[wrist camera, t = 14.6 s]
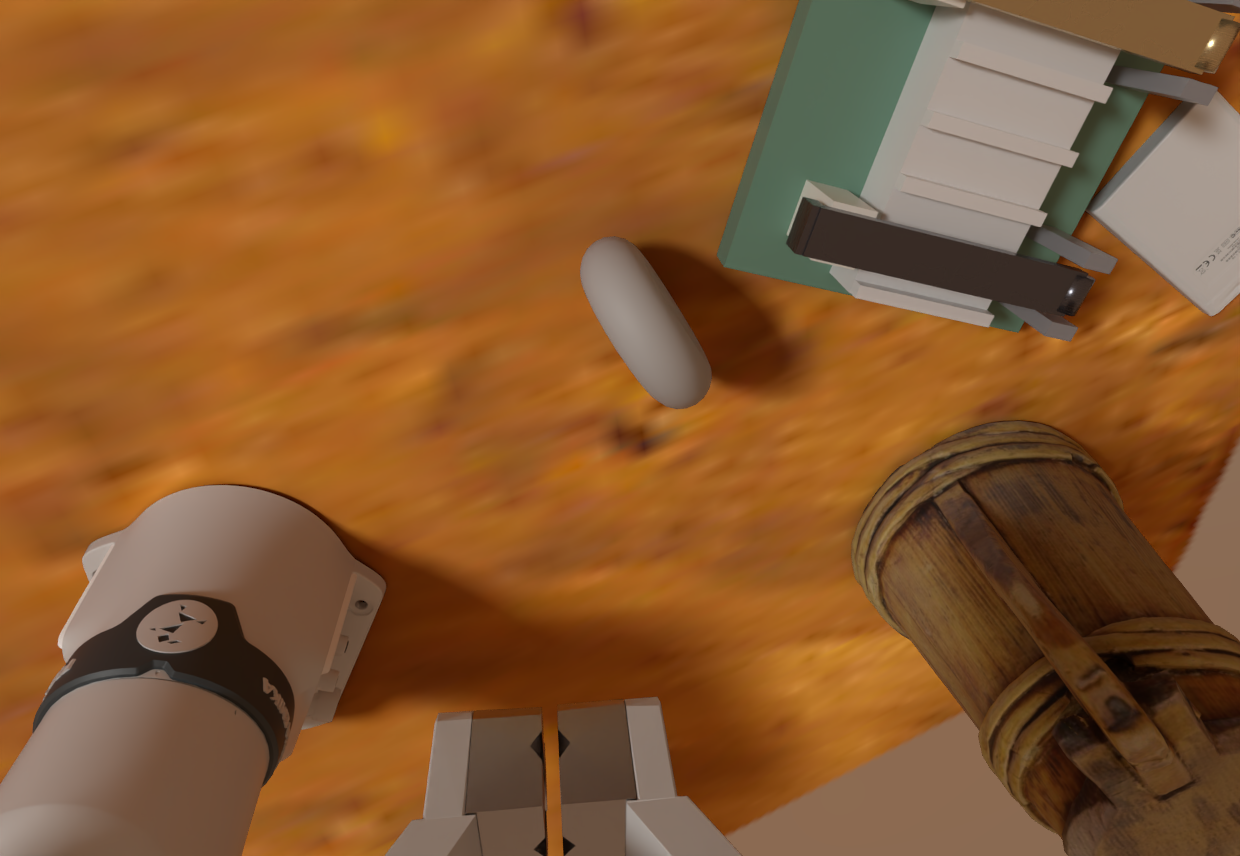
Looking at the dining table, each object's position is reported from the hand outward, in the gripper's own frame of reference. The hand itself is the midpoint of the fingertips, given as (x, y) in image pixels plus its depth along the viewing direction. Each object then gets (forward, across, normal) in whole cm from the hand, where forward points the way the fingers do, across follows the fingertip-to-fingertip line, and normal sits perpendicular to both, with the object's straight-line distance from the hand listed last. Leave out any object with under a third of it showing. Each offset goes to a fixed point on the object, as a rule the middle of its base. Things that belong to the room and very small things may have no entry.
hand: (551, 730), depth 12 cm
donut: (+35, -6, +7) cm, 36 cm away
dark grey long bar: (+30, -20, +3) cm, 36 cm away
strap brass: (+30, -23, -9) cm, 39 cm away
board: (+35, -22, -3) cm, 41 cm away
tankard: (+35, -29, +24) cm, 52 cm away
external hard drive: (+36, -39, +2) cm, 53 cm away
